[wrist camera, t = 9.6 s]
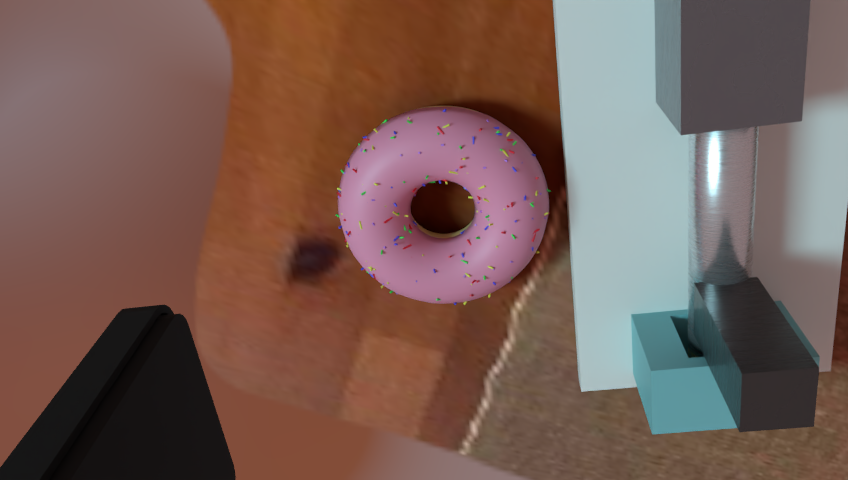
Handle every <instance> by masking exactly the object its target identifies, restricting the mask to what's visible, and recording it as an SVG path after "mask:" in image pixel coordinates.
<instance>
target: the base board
mask: <svg viewBox="0 0 848 480" xmlns="http://www.w3.org/2000/svg"><path fill="white" fill-rule="evenodd" d="M553 10H554V25H555V39H556V54H557V69H558V83H559V98H560V112H561V127H562V141H563V156H564V170H565V185H566V200H567V214H568V229H569V243H570V258H571V272H572V287H573V301H574V316H575V331H576V345H577V360H578V374H579V382H580V387H581V392H582V391H594V390H606V389H618V388H630V387H637V384H636V381H635V378H634V375H633V358H632V327H631V314H641V313H652V312H663V311H673V310H684V309H688V191H689V134H688V135H680V134H679V132H678V131H677V130H676V128H675V127H674V126H673V124H672V123H671V122H670V120H669V119H668V118H667V116H666V115H665V114H664V112H663V111H662V110H661V108H660V107H659V106H658V104H657V103H656V79H655V6H654V0H553ZM847 205H848V0H811V1H810V15H809V29H808V43H807V58H806V72H805V86H804V100H803V114H802V121H800V122H791V123H783V124H774V125H765V126H759V133H758V155H757V177H756V198H755V220H754V242H753V264H752V277H758V279H759V280H760V281H761V283H762V284H763V286H764V287H765V289H766V290H767V292H768V293H769V295H770V296H771V298H772V299H773V301H781V302H782V303H783V305H784V306H785V307H786V309H787V310H788V312H789V313H790V315H791V316H792V318H793V319H794V320H795V322H796V323H797V325H798V326H799V328H800V329H801V330H802V332H803V333H804V335H805V336H806V338H807V339H808V340H809V342H810V343H811V345H812V346H813V348H814V349H815V350H816V352H817V353H818V355H819V356H820V361H819V372H824V371H831V362H832V352H833V343H834V333H835V323H836V313H837V303H838V294H839V284H840V274H841V264H842V254H843V245H844V235H845V225H846V215H847Z"/></svg>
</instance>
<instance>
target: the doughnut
mask: <svg viewBox="0 0 848 480" xmlns="http://www.w3.org/2000/svg"><path fill="white" fill-rule="evenodd" d="M535 156H536V154H533V152H532V151H531V150H530V148H529V147H528V145H527V144H526V143H525V142H524V141H523V140H522V139H521V138H520V137H519V136H518V135H517V134H516V133H514V132H513V131H512V130H511V129H509V128H508V127H506V126H505V125H504V124H502V123H501V122H499V121H497V120H496V119H494V118H492V117H490V116H489V115H486V114H483V113H481V112H478V111H475V110H472V109H468V108H463V107H457V106H430V107H423V108H419V109H415V110H412V111H408V112H405V113H403V114H400V115H397V116H395V117H393V118H390V119H389V120H387V119H386V120H385V121H384V122H383V123H382V124H381V125H380V126H378V127H377V128H376V129H375V128H374V130H373V131H372V132H371V133H370V134H369V135H368V136H364V137H363V141H362V142H361V143H359V144H358V146H357V148H356V149H355V150H354V152H353V153H352V155H351V156H350V158H349V160H348V162H347V164H346V166H345V169H344V171H343V170H341V172H342V173H343V174H342V178H341V182H340V186H339V188H337V189H338V190H339V193H338V192H337V194H338V212H339V215H338V214H336V216H337V217H339V218H340V222H341V226H340V227H339V229H340V228H342V229H343V232H344V235H345V242H347V246H346V247H348V246H349V247H350V249H351V251H352V253H353V255H354V256H355V258H356V259H357V260H358V262H359V263H360V264H361V265H362V266H363V268H361V270H366V271H367V273H369V274H370V275H371V276H372V277H374V279H376V280H377V281H378V282H380V283H381V284H382V286H381V288H383V287H384V286H385V287H387V288H388V289H390V290H392V291H390V293H392V292H396V294H400V295H403V296H405V297H408V298H412V299H415V300H419V301H424V302H429V303H440V304H441V303H454V305H456V303H458V302H464V305H465V304H466V303H467V301H470V300H474V299H478V298H480V297H484V296H486V295H488V294H489V296H488V297H489V298H490V296H491V293H492V292H494V291H496V290H498V289H500V288H501V287H503V286H504V285H505V284H507V283H510V281H511V280H512V279H513V278H514V277H515V276H516V275H518V274H519V273H520V272H521V271H522V270H523V269H524V268H525V267H526V265H527V264H528V263H529V262H530V260H531V259H532V257H533V256H534V254H535V253H539V251H537V249H538V247H539V245H540V243H541V240H542V238H543V235H544V231H545V227H546V223H547V219H548V214H550V212H549V196H548V192H551V190H548V188H547V183H546V179H545V176H544V173H543V171H542V168H541V166H540V164H539V162H538V161H537V159H536V157H535ZM440 180H442V181H445V183H446V184H448V182H447V181H451V182H455V183H457V184H459V185H461V186H463V189H465V190H467V191H469V193H470V194H471V196H468V198H472V199H473V200H474V204H475V214H474V218H473V220H472V221H471V222H470V224H468V225H467V226H466V227H465V228H463V229H461V230H459V231H457V232H453V233H448V234H440V233H434V232H431V231H428V230H426V229H424V228H423V227H421V226H420V225H419V224H418V223H417V222H416V221H415V220H414V218H413V217H412V215H411V202H412V199H413V196H416V194H417V190H418V189H419V188H420V187H422V186H425V184H427V183H435V181H439V183H440V184H441V181H440Z"/></svg>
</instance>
